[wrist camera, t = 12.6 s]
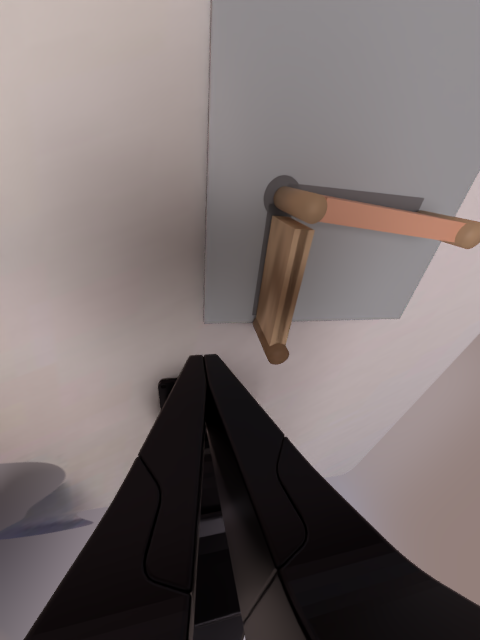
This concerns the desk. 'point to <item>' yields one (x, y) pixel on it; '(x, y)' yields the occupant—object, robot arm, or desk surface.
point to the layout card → (336, 142)
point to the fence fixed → (281, 284)
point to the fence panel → (377, 217)
